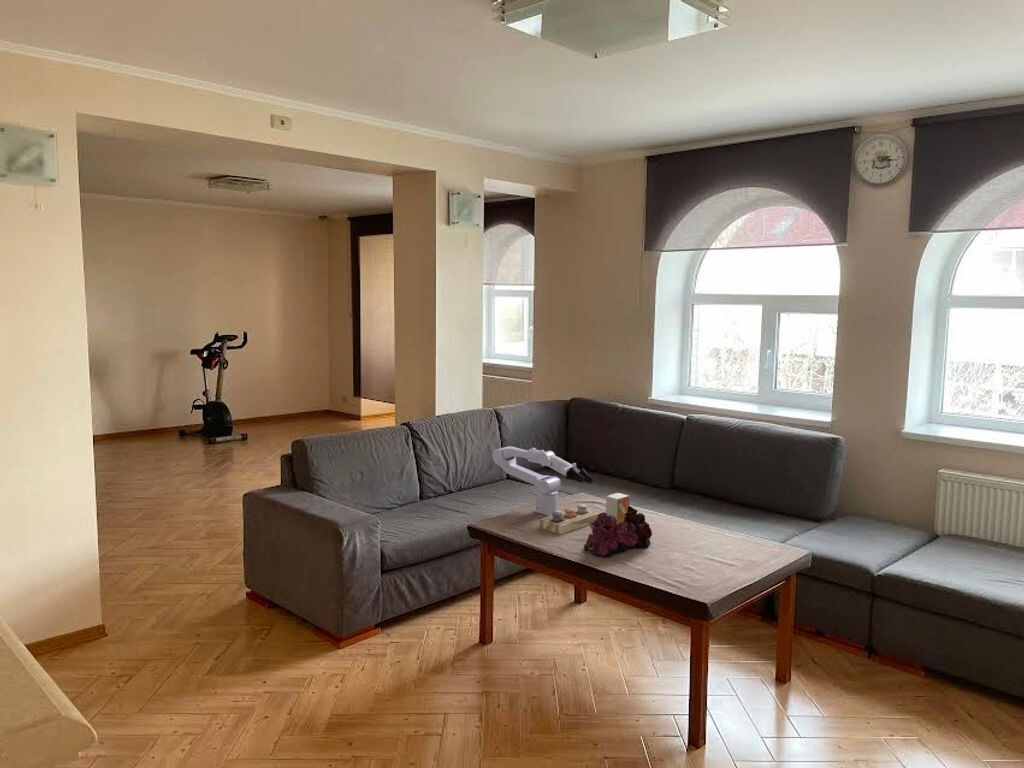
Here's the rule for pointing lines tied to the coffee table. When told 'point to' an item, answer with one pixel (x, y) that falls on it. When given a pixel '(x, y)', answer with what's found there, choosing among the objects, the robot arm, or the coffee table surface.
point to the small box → (617, 506)
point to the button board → (568, 522)
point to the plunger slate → (581, 509)
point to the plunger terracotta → (569, 513)
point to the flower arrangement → (618, 534)
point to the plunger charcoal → (557, 517)
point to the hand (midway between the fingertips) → (587, 480)
